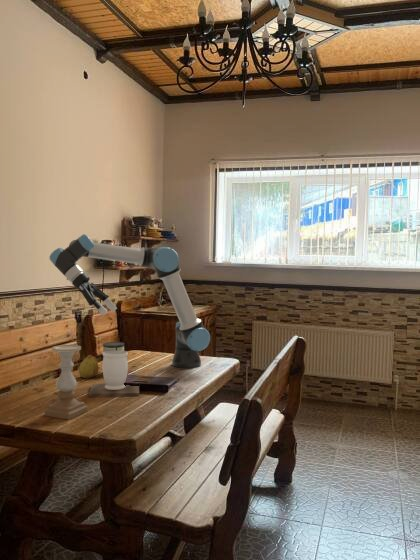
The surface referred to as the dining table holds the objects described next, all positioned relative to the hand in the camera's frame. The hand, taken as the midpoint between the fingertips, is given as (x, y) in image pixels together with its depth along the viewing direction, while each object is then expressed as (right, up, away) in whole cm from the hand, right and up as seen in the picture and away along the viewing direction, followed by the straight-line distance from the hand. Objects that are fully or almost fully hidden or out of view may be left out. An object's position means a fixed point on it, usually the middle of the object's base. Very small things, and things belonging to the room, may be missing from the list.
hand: (110, 311), depth 219 cm
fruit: (-12, -31, +10) cm, 35 cm away
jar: (+4, -31, -12) cm, 34 cm away
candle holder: (-7, -34, -42) cm, 55 cm away
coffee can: (-3, -31, +21) cm, 37 cm away
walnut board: (+4, -32, -12) cm, 35 cm away
